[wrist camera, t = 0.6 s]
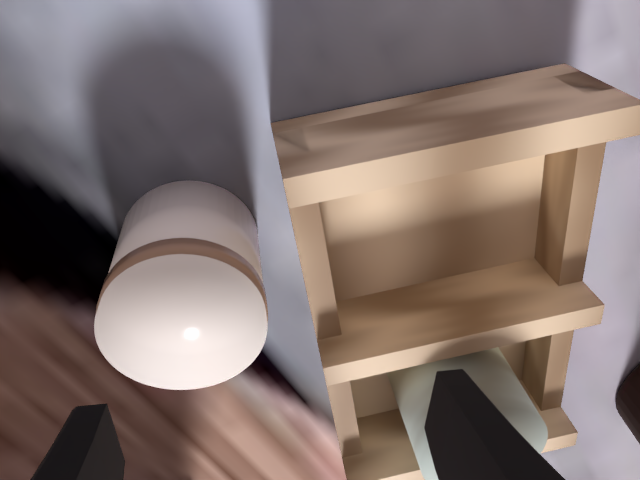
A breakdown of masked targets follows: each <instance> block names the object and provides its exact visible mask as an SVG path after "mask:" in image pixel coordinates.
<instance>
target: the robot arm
mask: <svg viewBox="0 0 640 480" xmlns="http://www.w3.org/2000/svg"><path fill="white" fill-rule="evenodd" d="M424 429H425V433H426V437H427V441H428V445H429V449H430V453H431V456H432V460H433V464H434V467H435V471H436V474H437V476H438V479H439V480H565V479H564V478H563V477H562V476H561V475H560V474H559V473H558V472H557V471H556V470H555V469H554V468H553V467H552V466H551V465H550V464H549V463H548V462H547V461H546V460H545V459H544V458H543V457H542V456H541V455H540V454H539V453H538V452H537V451H536V450H535V449H534V448H533V447H532V446H531V444H530V443H529V442H528V441H527V440H526V439H525V438H524V437H523V436H522V435H521V434H520V433H519V432H518V431H517V430H516V429H515V427H514V426H513V425H512V424H511V423H510V422H509V421H508V420H507V419H506V418H505V416H504V415H503V414H502V413H501V412H500V411H499V410H498V409H497V407H496V406H495V405H494V404H493V403H492V402H491V401H490V399H489V398H488V397H487V396H486V395H485V394H484V393H483V391H482V390H481V389H480V388H479V387H478V386H477V384H476V383H475V382H474V381H473V380H472V379H471V377H470V376H469V375H468V374H467V373H466V372H465V371H464V370H463V369H456V370H446V371H437V373H436V377H435V381H434V386H433V390H432V395H431V399H430V404H429V408H428V412H427V417H426V421H425V426H424ZM124 466H125V460H124V457H123V453H122V450H121V447H120V444H119V441H118V437H117V434H116V431H115V428H114V425H113V421H112V418H111V415H110V412H109V409H108V405H107V404H98V405H88V406H78V407H76V408H74V409H73V410H72V412H71V414H70V415H69V417H68V419H67V421H66V422H65V424H64V426H63V427H62V429H61V431H60V433H59V434H58V436H57V438H56V439H55V441H54V443H53V444H52V446H51V448H50V449H49V451H48V453H47V454H46V456H45V458H44V459H43V461H42V462H41V464H40V466H39V467H38V469H37V470H36V472H35V474H34V475H33V477H32V478H31V480H123V477H124Z"/></svg>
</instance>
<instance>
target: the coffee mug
mask: <svg viewBox="0 0 640 480" xmlns="http://www.w3.org/2000/svg"><path fill="white" fill-rule="evenodd" d="M616 408H617V410H618V413H619V414H620V416H621V417H622V419H623V420H624V422H625V423H626V425H627V426H628V427H629V429H630V430H631V432H632V433H633V435H634V436H635V438H636V439H637V441H638V442H639V444H640V365H639V366H638V367H636V368H635V369H634V370H633V371H632V372H631V373H630V375H629V376H628V377H627V378H626V379H625V381H624V382H623V384H622V385H621V387H620V389H619V392H618V394H617V398H616Z"/></svg>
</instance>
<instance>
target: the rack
mask: <svg viewBox="0 0 640 480" xmlns="http://www.w3.org/2000/svg"><path fill="white" fill-rule="evenodd" d="M271 127H272V132H273V137H274V141H275V146H276V151H277V155H278V160H279V165H280V169H281V174H282V179H283V183H284V188H285V193H286V197H287V202H288V207H289V212H290V216H291V221H292V226H293V230H294V235H295V240H296V244H297V249H298V254H299V258H300V263H301V268H302V272H303V277H304V282H305V286H306V291H307V296H308V300H309V305H310V310H311V314H312V319H313V324H314V329H315V333H316V338H317V343H318V347H319V352H320V357H321V361H322V366H323V371H324V375H325V380H326V385H327V389H328V394H329V399H330V403H331V408H332V413H333V417H334V422H335V427H336V431H337V436H338V441H339V445H340V450H341V455H342V459H343V464H344V469H345V473H346V478H347V480H439V479H438V476H437V474H436V471H435V467H434V464H433V460H432V456H431V453H430V449H429V445H428V441H427V437H426V433H425V429H424V426H425V421H426V417H427V412H428V408H429V404H430V399H431V395H432V390H433V386H434V381H435V377H436V373H437V371H446V370H456V369H463V370H464V371H465V372H466V373H467V374H468V375H469V376H470V377H471V379H472V380H473V381H474V382H475V383H476V384H477V386H478V387H479V388H480V389H481V390H482V391H483V393H484V394H485V395H486V396H487V397H488V398H489V399H490V401H491V402H492V403H493V404H494V405H495V406H496V407H497V409H498V410H499V411H500V412H501V413H502V414H503V415H504V416H505V418H506V419H507V420H508V421H509V422H510V423H511V424H512V425H513V426H514V427H515V429H516V430H517V431H518V432H519V433H520V434H521V435H522V436H523V437H524V438H525V439H526V440H527V441H528V442H529V443H530V444H531V446H532V447H533V448H534V449H535V450H536V451H537V452H538V453H539V454H541V453H544V452H548V451H552V450H557V449H561V448H565V447H569V446H573V445H575V443H576V439H577V434H578V432H577V430H576V429H575V427H574V426H573V424H572V423H571V421H570V420H569V418H568V417H567V415H566V414H565V412H564V411H563V409H562V408H561V402H562V396H563V390H564V384H565V378H566V373H567V367H568V361H569V355H570V349H571V344H572V338H573V332H574V330H575V329H580V328H584V327H588V326H593V325H597V324H601V320H602V315H603V310H604V304H603V302H602V301H601V300H600V299H599V298H598V297H597V296H596V295H595V294H594V293H593V292H592V291H591V290H590V289H589V288H588V286H587V285H586V284H585V283H584V282H583V281H582V280H583V274H584V268H585V262H586V256H587V251H588V245H589V239H590V233H591V227H592V222H593V216H594V210H595V204H596V198H597V193H598V187H599V181H600V175H601V169H602V164H603V158H604V152H605V146H606V142H608V141H613V140H618V139H622V138H627V137H632V136H636V135H640V100H639V99H637V98H635V97H633V96H631V95H629V94H627V93H625V92H623V91H621V90H618V89H616V88H614V87H612V86H610V85H608V84H606V83H604V82H602V81H600V80H598V79H596V78H594V77H592V76H590V75H588V74H586V73H584V72H581V71H579V70H577V69H575V68H573V67H571V66H569V65H567V64H565V63H564V64H559V65H554V66H549V67H544V68H539V69H535V70H530V71H525V72H520V73H515V74H510V75H505V76H500V77H495V78H490V79H485V80H480V81H475V82H470V83H466V84H461V85H456V86H451V87H446V88H441V89H436V90H431V91H426V92H421V93H416V94H411V95H406V96H401V97H397V98H392V99H387V100H382V101H377V102H372V103H367V104H362V105H357V106H352V107H347V108H342V109H337V110H332V111H327V112H323V113H318V114H313V115H308V116H303V117H298V118H293V119H288V120H283V121H278V122H273V123H271Z"/></svg>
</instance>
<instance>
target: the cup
mask: <svg viewBox="0 0 640 480" xmlns="http://www.w3.org/2000/svg"><path fill="white" fill-rule="evenodd" d="M267 321H268V310H267V301H266V294H265V288H264V285H263V278H262V268H261V259H260V250H259V240H258V232H257V226H256V223H255V220H254V218H253V216H252V214H251V212H250V211H249V209H248V208H247V207H246V205H245V204H244V203H243V202H242V201H241V200H240V199H239V198H238V197H236V196H235V195H234V194H232V193H231V192H229V191H228V190H226V189H224V188H222V187H220V186H217V185H214V184H211V183H207V182H202V181H192V180H187V181H176V182H171V183H167V184H164V185H161V186H159V187H156V188H154V189H152V190H151V191H149V192H147V193H146V194H144V195H143V196H142V197H141V198H139V199H138V200H137V201H136V202H135V204H134V205H133V206H132V207H131V209H130V210H129V212H128V213H127V215H126V218H125V220H124V223H123V226H122V229H121V233H120V236H119V239H118V243H117V246H116V249H115V253H114V256H113V259H112V263H111V266H110V269H109V273H108V275H107V277H106V279H105V281H104V284H103V287H102V290H101V293H100V297H99V300H98V303H97V307H96V316H95V322H94V333H95V338H96V342H97V344H98V347H99V349H100V351H101V352H102V354H103V356H104V357H105V358H106V360H107V361H108V362H109V363H110V364H111V365H112V366H113V367H114V368H116V369H117V370H118V371H119V372H121V373H122V374H124V375H125V376H127V377H129V378H131V379H133V380H135V381H137V382H140V383H142V384H145V385H149V386H152V387H157V388H162V389H171V390H190V389H199V388H204V387H209V386H212V385H216V384H219V383H221V382H224V381H226V380H228V379H230V378H232V377H234V376H236V375H237V374H239V373H240V372H242V371H243V370H244V369H246V368H247V367H248V366H249V365H250V364H251V363H252V362H253V361H254V360H255V359H256V357H257V356H258V355H259V353H260V351H261V349H262V348H263V346H264V343H265V340H266V335H267Z"/></svg>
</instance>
